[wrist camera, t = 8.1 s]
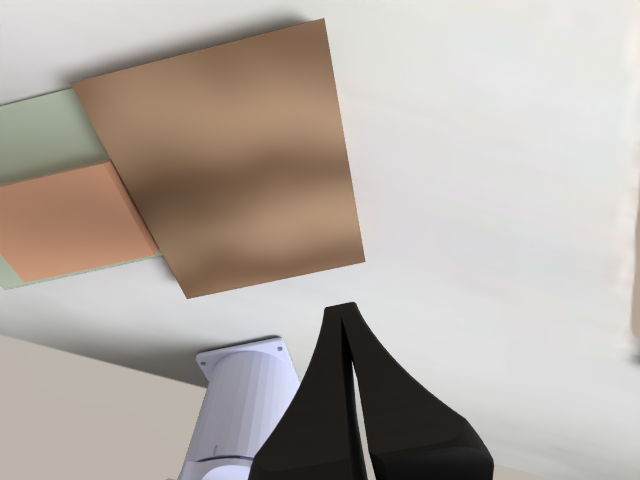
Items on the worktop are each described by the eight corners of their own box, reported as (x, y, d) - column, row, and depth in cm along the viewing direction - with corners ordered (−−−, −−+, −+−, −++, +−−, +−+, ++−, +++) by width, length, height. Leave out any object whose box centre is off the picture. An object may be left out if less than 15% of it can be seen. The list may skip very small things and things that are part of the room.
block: (360, 247, 22) (365, 261, 20) (196, 282, 23) (186, 299, 21) (321, 25, 16) (324, 17, 14) (94, 83, 17) (69, 83, 15)
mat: (172, 251, 22) (170, 254, 21) (9, 287, 22) (5, 290, 22) (86, 85, 17) (81, 85, 16) (-122, 138, 17) (-130, 139, 17)
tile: (166, 240, 21) (154, 255, 19) (47, 266, 21) (24, 282, 19) (123, 155, 18) (103, 163, 16) (-13, 187, 18) (-47, 197, 17)
